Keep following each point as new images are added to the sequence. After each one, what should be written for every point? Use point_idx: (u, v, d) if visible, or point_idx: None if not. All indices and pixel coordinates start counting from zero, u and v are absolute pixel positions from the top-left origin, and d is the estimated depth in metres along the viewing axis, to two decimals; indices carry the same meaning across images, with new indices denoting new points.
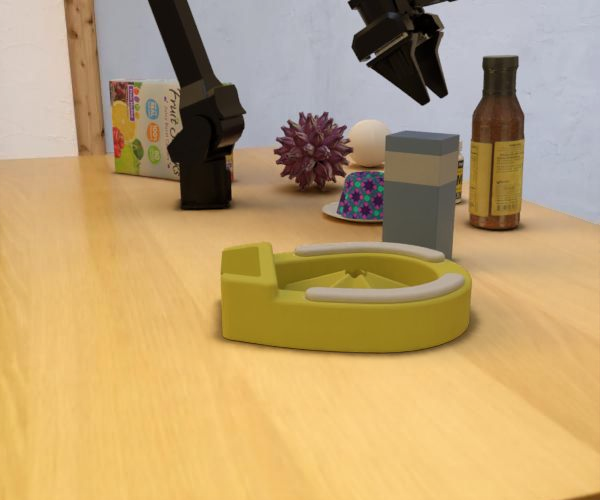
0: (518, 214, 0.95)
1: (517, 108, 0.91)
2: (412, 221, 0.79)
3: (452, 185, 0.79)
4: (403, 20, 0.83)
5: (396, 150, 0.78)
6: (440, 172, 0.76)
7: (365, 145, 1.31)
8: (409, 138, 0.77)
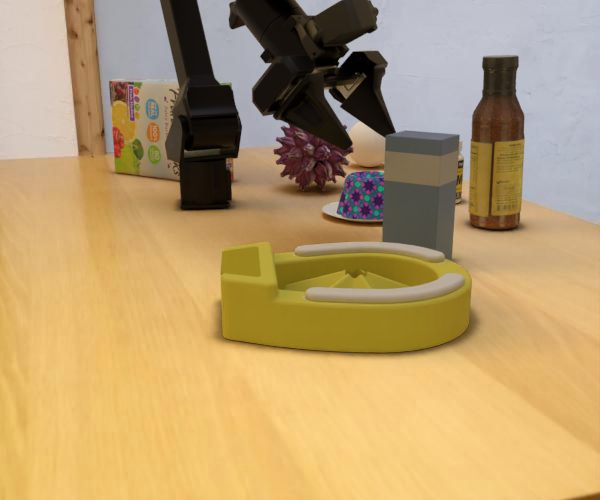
0: (518, 214, 0.95)
1: (517, 108, 0.91)
2: (412, 221, 0.79)
3: (452, 185, 0.79)
4: (295, 62, 0.74)
5: (396, 150, 0.78)
6: (440, 172, 0.76)
7: (365, 145, 1.31)
8: (409, 138, 0.77)
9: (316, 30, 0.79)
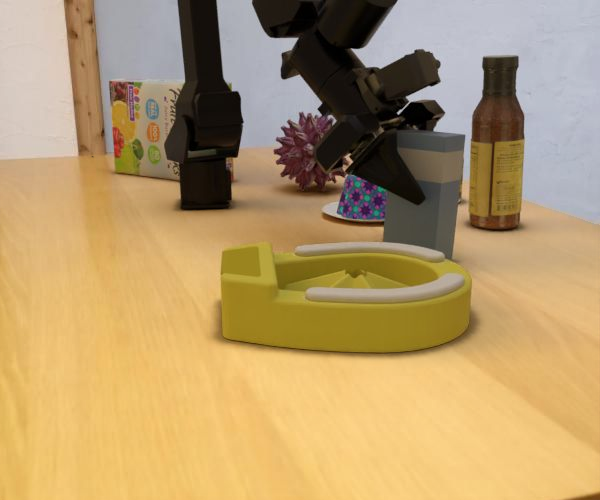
0: (518, 214, 0.95)
1: (517, 108, 0.91)
2: (413, 217, 0.79)
3: (455, 184, 0.79)
4: (361, 121, 0.72)
5: (401, 146, 0.78)
6: (443, 169, 0.76)
7: None
8: (414, 134, 0.77)
9: (378, 85, 0.77)
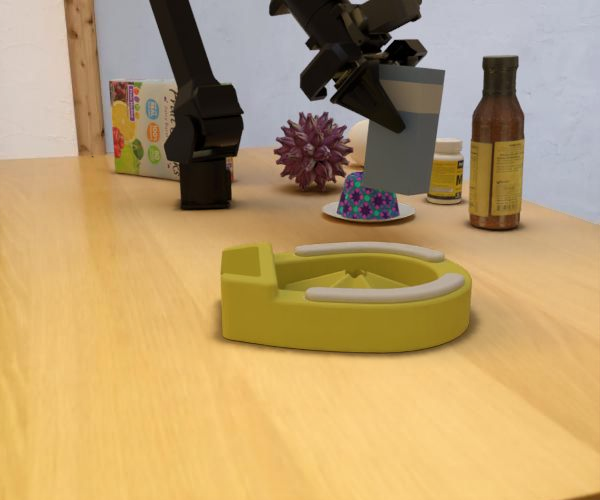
0: (518, 214, 0.95)
1: (517, 108, 0.91)
2: (392, 147, 0.84)
3: (434, 117, 0.84)
4: (343, 49, 0.77)
5: (383, 78, 0.83)
6: (421, 99, 0.81)
7: (365, 145, 1.31)
8: (396, 66, 0.82)
9: (362, 18, 0.81)
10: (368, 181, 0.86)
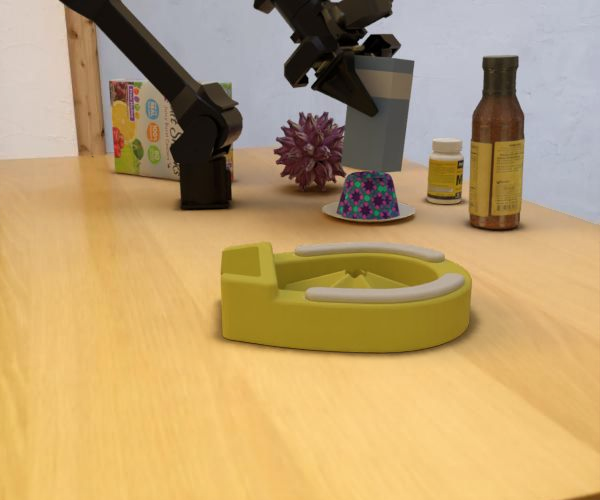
0: (518, 214, 0.95)
1: (517, 108, 0.91)
2: (367, 129, 0.94)
3: (404, 103, 0.94)
4: (321, 41, 0.87)
5: (359, 67, 0.93)
6: (392, 86, 0.91)
7: None
8: (370, 57, 0.92)
9: (339, 14, 0.91)
10: (346, 160, 0.96)
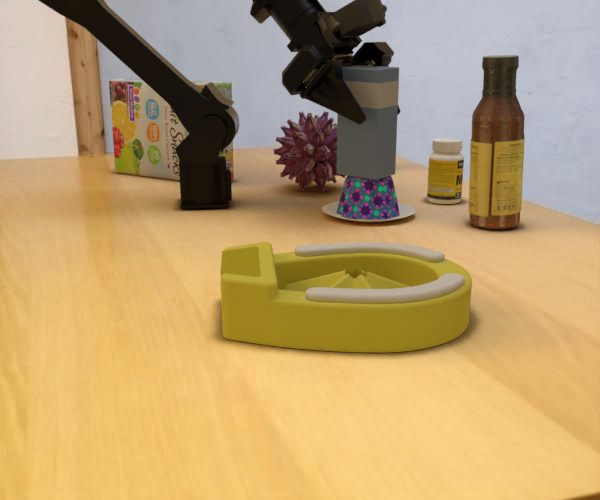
0: (518, 214, 0.95)
1: (517, 108, 0.91)
2: (358, 138, 0.97)
3: (393, 109, 0.96)
4: (318, 50, 0.90)
5: (346, 79, 0.96)
6: (379, 96, 0.93)
7: None
8: (355, 69, 0.94)
9: (335, 24, 0.94)
10: (341, 169, 1.00)
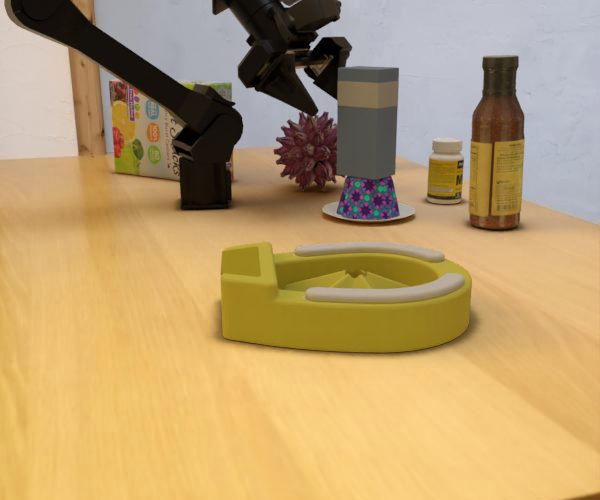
0: (518, 214, 0.95)
1: (517, 108, 0.91)
2: (358, 138, 0.97)
3: (392, 109, 0.97)
4: (271, 44, 0.93)
5: (346, 80, 0.96)
6: (379, 96, 0.94)
7: None
8: (355, 69, 0.95)
9: (289, 19, 0.97)
10: (341, 169, 1.00)
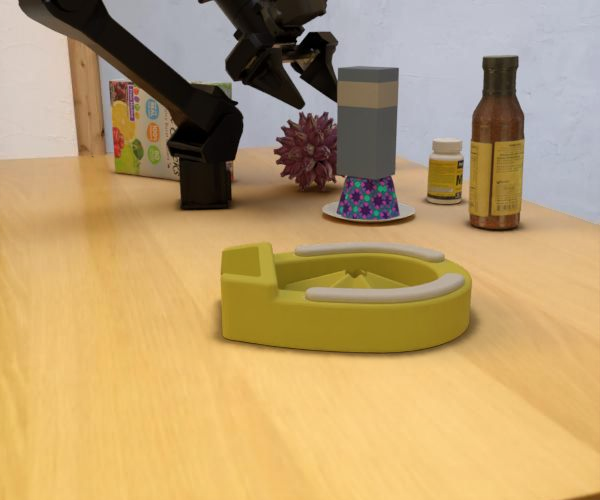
0: (518, 214, 0.95)
1: (517, 108, 0.91)
2: (358, 138, 0.97)
3: (392, 109, 0.97)
4: (258, 38, 0.94)
5: (346, 80, 0.96)
6: (379, 96, 0.94)
7: None
8: (355, 69, 0.95)
9: (276, 13, 0.98)
10: (341, 169, 1.00)
